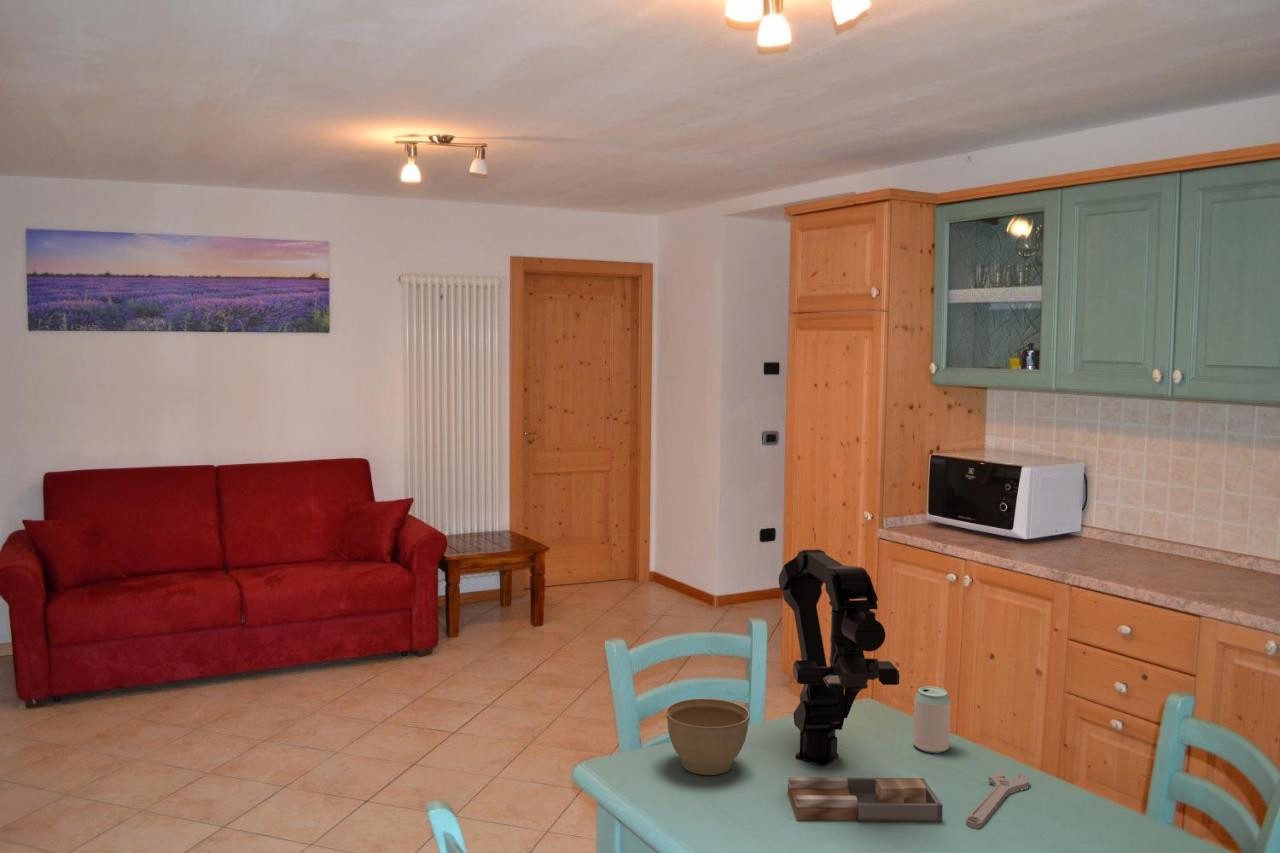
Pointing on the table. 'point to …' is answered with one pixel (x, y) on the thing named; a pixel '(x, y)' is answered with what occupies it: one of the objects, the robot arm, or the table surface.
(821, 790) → the slot board
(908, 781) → the light brown cube
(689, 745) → the planter bowl
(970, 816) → the adjustable wrench
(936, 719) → the can
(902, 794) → the brown wooden cube
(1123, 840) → the table surface
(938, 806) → the tray
